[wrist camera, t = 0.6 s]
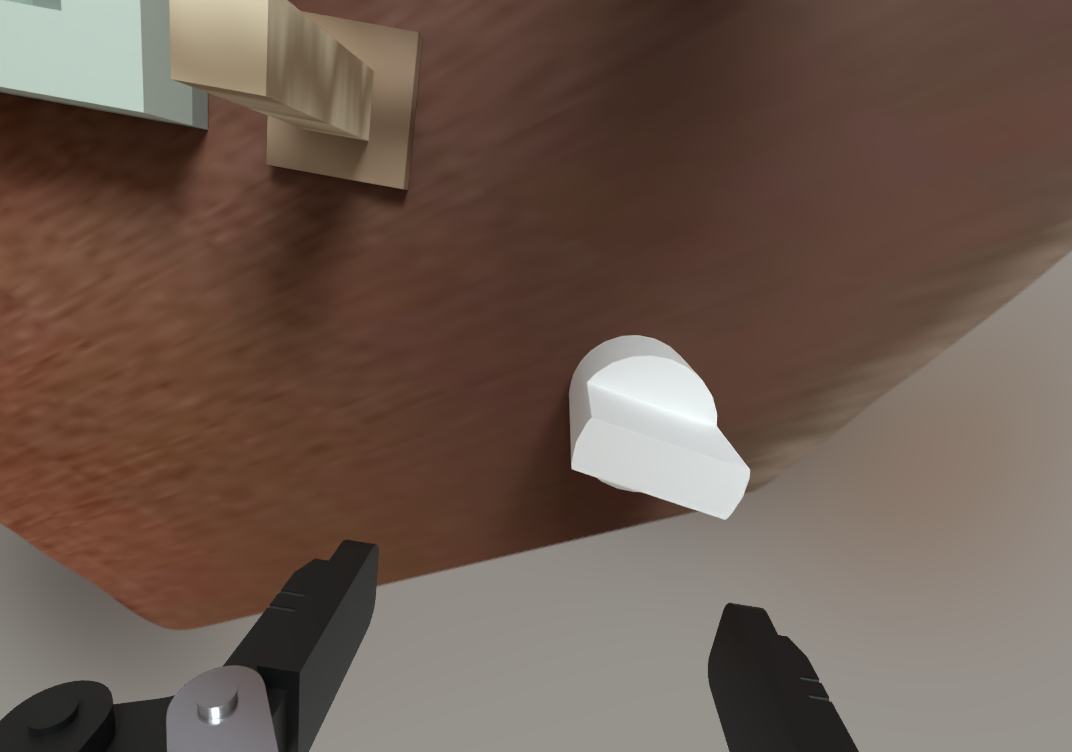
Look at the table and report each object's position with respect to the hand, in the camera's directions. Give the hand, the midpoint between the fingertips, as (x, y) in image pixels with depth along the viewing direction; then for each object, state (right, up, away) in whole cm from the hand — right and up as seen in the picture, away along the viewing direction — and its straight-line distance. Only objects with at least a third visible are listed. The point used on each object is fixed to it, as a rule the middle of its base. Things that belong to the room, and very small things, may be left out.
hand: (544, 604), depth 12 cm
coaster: (-12, +23, +22) cm, 34 cm away
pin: (-12, +22, +21) cm, 33 cm away
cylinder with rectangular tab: (+7, +4, +26) cm, 28 cm away
